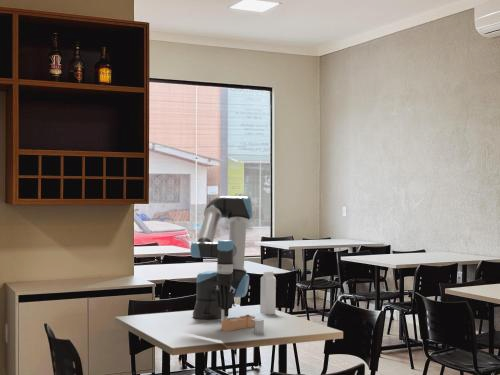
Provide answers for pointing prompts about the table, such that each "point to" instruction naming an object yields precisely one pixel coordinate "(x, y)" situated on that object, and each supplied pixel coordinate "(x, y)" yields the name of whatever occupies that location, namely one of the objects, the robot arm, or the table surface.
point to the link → (237, 323)
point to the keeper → (258, 325)
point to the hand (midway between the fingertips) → (224, 322)
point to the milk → (268, 293)
